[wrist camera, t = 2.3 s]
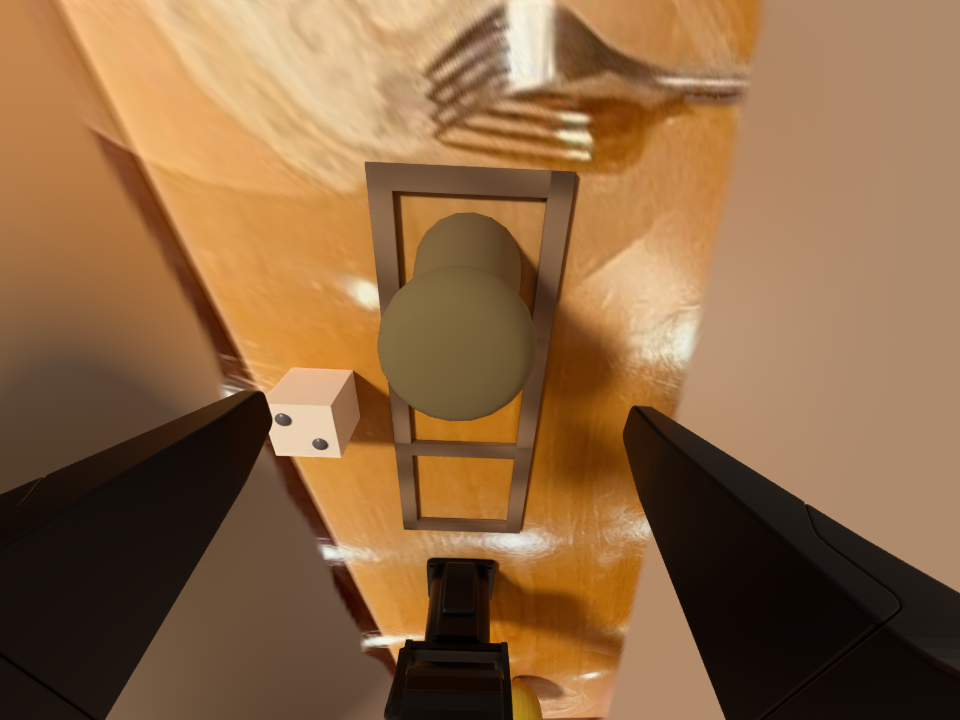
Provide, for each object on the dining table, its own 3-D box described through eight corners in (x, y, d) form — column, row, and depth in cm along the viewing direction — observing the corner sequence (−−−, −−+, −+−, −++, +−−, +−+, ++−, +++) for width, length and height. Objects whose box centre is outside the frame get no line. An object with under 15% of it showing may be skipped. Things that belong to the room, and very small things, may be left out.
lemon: (515, 664, 45) (520, 756, 38) (546, 676, 47) (557, 766, 40) (488, 678, 47) (489, 767, 40) (519, 688, 49) (525, 776, 42)
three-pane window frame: (518, 529, 31) (519, 533, 31) (404, 525, 31) (403, 529, 31) (574, 171, 17) (576, 171, 17) (366, 161, 17) (364, 161, 17)
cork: (531, 219, 18) (582, 283, 9) (513, 324, 21) (537, 457, 12) (415, 205, 18) (339, 256, 9) (414, 313, 21) (356, 441, 12)
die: (360, 416, 25) (340, 458, 22) (305, 414, 25) (275, 456, 22) (353, 369, 23) (329, 406, 20) (292, 367, 23) (258, 404, 20)
